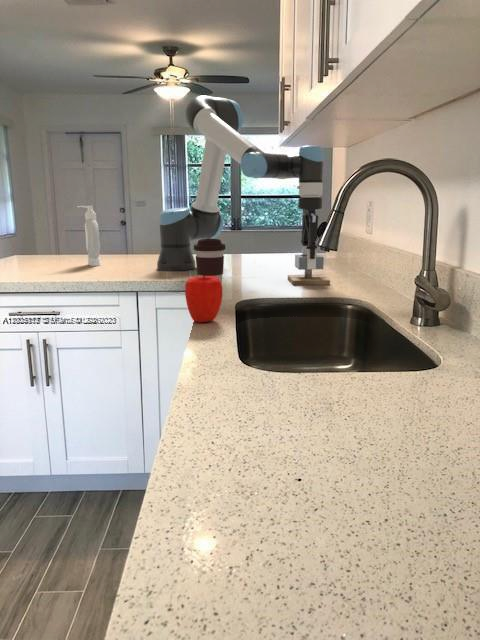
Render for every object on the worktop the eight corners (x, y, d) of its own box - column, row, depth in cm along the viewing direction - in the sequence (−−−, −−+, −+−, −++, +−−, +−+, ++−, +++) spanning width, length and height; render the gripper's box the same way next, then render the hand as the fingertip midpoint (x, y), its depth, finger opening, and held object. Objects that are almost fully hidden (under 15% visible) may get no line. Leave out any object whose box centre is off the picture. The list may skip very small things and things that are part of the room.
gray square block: (294, 266, 171) (295, 254, 170) (318, 265, 172) (318, 254, 171) (299, 269, 163) (299, 257, 162) (323, 269, 164) (323, 256, 163)
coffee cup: (221, 290, 155) (221, 241, 152) (191, 289, 157) (189, 240, 154) (229, 284, 165) (228, 238, 161) (199, 283, 167) (198, 238, 163)
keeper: (287, 279, 174) (287, 254, 172) (321, 278, 175) (322, 254, 173) (293, 285, 163) (293, 259, 161) (329, 284, 163) (330, 258, 161)
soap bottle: (80, 263, 217) (75, 205, 211) (99, 262, 220) (94, 205, 214) (83, 267, 206) (78, 206, 200) (102, 266, 208) (98, 205, 202)
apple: (214, 327, 113) (213, 279, 110) (179, 324, 116) (177, 277, 113) (228, 318, 121) (228, 273, 118) (195, 315, 124) (194, 271, 121)
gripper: (293, 196, 172) (292, 263, 177) (304, 196, 152) (303, 271, 157) (315, 196, 172) (313, 262, 178) (329, 196, 152) (327, 271, 158)
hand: (308, 267), depth 167 cm, fingers closed on gray square block, 8 cm apart
